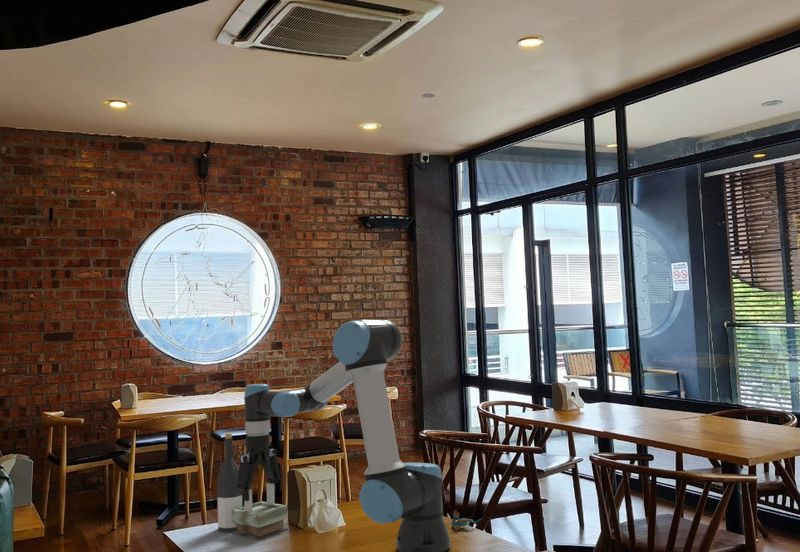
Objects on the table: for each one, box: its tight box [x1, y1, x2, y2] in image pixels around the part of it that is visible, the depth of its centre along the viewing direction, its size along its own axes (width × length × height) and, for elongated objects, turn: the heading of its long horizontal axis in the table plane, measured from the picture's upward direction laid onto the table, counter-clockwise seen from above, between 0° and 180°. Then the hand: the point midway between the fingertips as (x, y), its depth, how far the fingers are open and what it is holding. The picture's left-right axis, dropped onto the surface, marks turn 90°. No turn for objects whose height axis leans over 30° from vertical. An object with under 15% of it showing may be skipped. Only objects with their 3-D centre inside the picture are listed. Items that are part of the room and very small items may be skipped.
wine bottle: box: [216, 432, 243, 533], centre depth 233 cm, size 8×8×30 cm
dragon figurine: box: [450, 509, 483, 532], centre depth 224 cm, size 6×7×8 cm
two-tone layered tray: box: [231, 501, 289, 541], centre depth 228 cm, size 12×12×7 cm
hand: (259, 507), depth 228 cm, fingers closed on two-tone layered tray, 9 cm apart
